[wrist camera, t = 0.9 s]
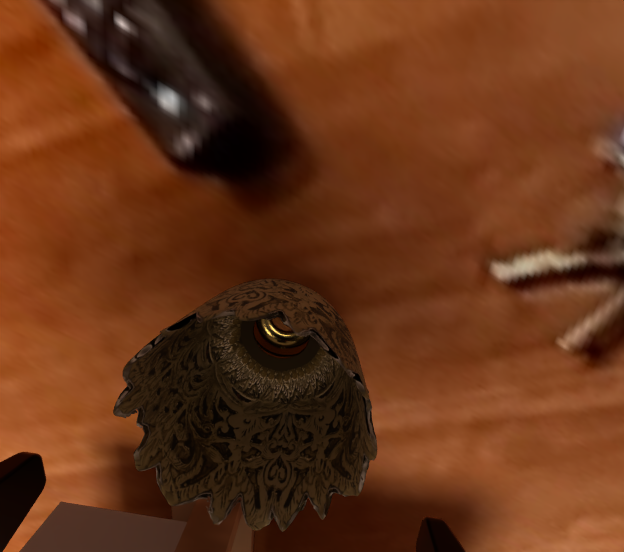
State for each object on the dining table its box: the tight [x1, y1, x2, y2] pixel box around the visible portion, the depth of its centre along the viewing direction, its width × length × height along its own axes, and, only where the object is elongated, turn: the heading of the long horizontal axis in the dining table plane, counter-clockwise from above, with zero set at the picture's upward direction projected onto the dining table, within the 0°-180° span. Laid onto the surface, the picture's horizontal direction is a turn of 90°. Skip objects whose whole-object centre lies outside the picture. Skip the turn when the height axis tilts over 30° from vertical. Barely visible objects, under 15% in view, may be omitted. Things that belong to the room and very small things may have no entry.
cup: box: [113, 279, 377, 532], centre depth 13 cm, size 8×7×8 cm
